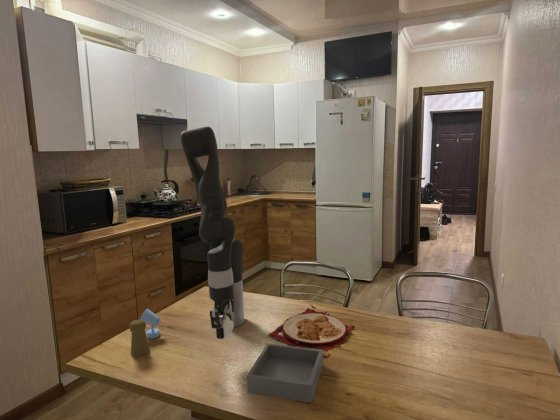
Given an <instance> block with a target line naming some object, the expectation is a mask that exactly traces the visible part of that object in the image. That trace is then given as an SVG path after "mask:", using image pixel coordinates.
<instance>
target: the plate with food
mask: <svg viewBox="0 0 560 420" xmlns="http://www.w3.org/2000/svg"><path fill="white" fill-rule="evenodd" d="M309 306H310V307H311V308H309V307H307V309H306V310H305V311H303V312H300V313H298V314H296V315H293V316H290V317H289V318H286V319H285V320H284V322H283V324H281V325H279V326H278V327H277V328H276V329H275V330H273V331H271V332H269V333H267V335H268V336H270V337H271V338H275V339H277V340H280V341H281V342H283V343H285V344H288V345H289V346H293V347H302V348H310V349H313V348H314V349H319V350H323V352H324V353H323V357H329V356H330V355H331V353H327V354H326V352H328V351H331V350H333V349H334V348H335V347H337V346H338V348H340V347H341V345H342V344H344V343H345V342H347V340H345V336H347V335H346V334H349V335H350V336H351V334H353V331H356V327H357V326H355V325H353V324H349V326H348V325H347V324H345V323H344V322H343V321H342V320H341V319H339V318H337V317H335V316H333V315H330V313H328V311H316V308H317V307H316V306H314V305H312V304H309ZM279 331H281V332H282V333H281V334H282V335H283V336H282V335H281V334H279ZM344 340H345V341H344Z"/></svg>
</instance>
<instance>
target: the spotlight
mask: <svg viewBox="0 0 560 420" xmlns="http://www.w3.org/2000/svg"><path fill="white" fill-rule="evenodd" d="M139 319H141V320H144V321H145V322H146V324H148V325H150V329H148V330H146V331H145V332H146V336H147V339H155V338H158V337H159V336H160V329H159V328H154V326H155V327H156V326H158V324H159V323H160V321H161V318H160V317H159V316H157V314H155V313H154V312H153V311H152V310H150V309H149V308H146V309H145V310H144V311H143V312H142V314H141V316H140V318H139Z"/></svg>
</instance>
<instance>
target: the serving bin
mask: <svg viewBox="0 0 560 420" xmlns="http://www.w3.org/2000/svg"><path fill="white" fill-rule="evenodd" d="M323 355H324V351H323V350H321V349H320V348H319V349H315V348H310V347H308V348H302V347H300V346H293V345H285V344H274V343H269V342H268V343H266V344H265V346H264V347H263V349H262V351H261V352H260V353H259V356H258V357H257V358H256V360H255V362H254V363H253V365H252V366H251V368H250V370H249V372H248V373H247V374H246V390H247V391H246V392H247V394H252V395H253V394H254V395H259V396H265V397H266V396H267V397H274V398H279V399H285V400H291V401H297V402H298V401H299V402H303V403H304V402H305V403H313V399H314V398H315V397H314V396H315V394H316V393H315V392H316V389H317V387H318V384H319V380H320V376H321V374H322V371H323V366H324V356H323Z"/></svg>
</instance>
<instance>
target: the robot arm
mask: <svg viewBox="0 0 560 420" xmlns="http://www.w3.org/2000/svg"><path fill="white" fill-rule="evenodd" d="M180 143H181V146H182V147H181V148H182V150H183V153H184V156H185V159H186V162H187V164H188V168H189V170H190V173H191V177H192V180H193V184H194V186H195V191H196V194H197V199H198V203H199V207H200V214H201V215H200V221H199V222H200V223H199V227H198V229H199V230H198V235H199V238H200V240H201V241H202V242H203V243H205V244H209V248H210V249H209V250H208V252H207V254H206V255H207V256H206V258H207V270H208V271H207V272H208V273H207V282H208V293H209V299H210V300H212V301H213V303H214V305H213V309H210V311H209V317H210V324H211V326H210V327H211V329H214V330H215V329H216V330H215V332H216V333H215V334H216V339H219V340H223V338H224V327H223V324H224V320H225V319H226V315H227V316H228V317H229V319H230V320H231V321H232V322H233V323H234V327H233V328H237V327H240V326H241V325H243V324H244V323H245V309H244V308H245V306H244V288H243V286H244V285H243V273H244V247H243V243H242V241H241V240H240V239H238V238H234V237H235V232H236V225H235V222H234V221H233V220H232V219H231V218H230V217H229V216H228V217H225V216H226V213H227V210H228V203H227V199H226V195H225V192H224V191H225V190H224V188H223V187H222V185H221V180H220V179H221V178H220V164H219V163H220V162H219V153H218V144H217V143H218V142H217V138H216V134H215V132H214V130H213V128H212V127H210V126H202V127H197V128H192V129H187V130H183V131H182V132H181V133H180ZM206 156H208V158H207V164H206V167H205V169H204V168H203V166H201V163H199V160H198V158H202V157H206ZM222 315H223V317H220V316H222ZM220 320H221V324H220Z"/></svg>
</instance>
